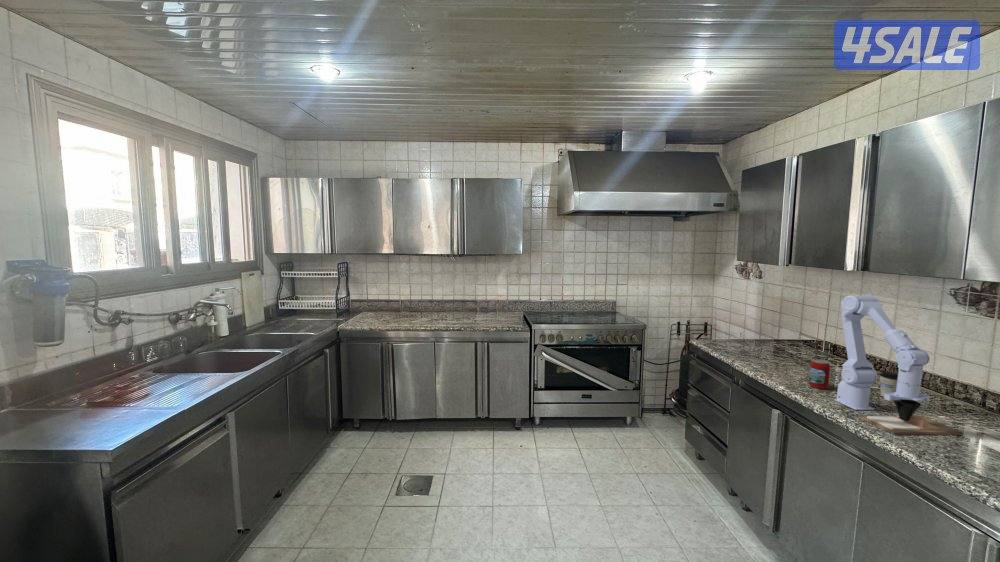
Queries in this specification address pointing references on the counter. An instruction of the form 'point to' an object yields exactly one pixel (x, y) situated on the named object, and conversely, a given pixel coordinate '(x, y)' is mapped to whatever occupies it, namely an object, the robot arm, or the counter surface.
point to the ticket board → (908, 426)
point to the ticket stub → (921, 423)
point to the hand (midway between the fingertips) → (904, 419)
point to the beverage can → (819, 374)
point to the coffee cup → (888, 382)
